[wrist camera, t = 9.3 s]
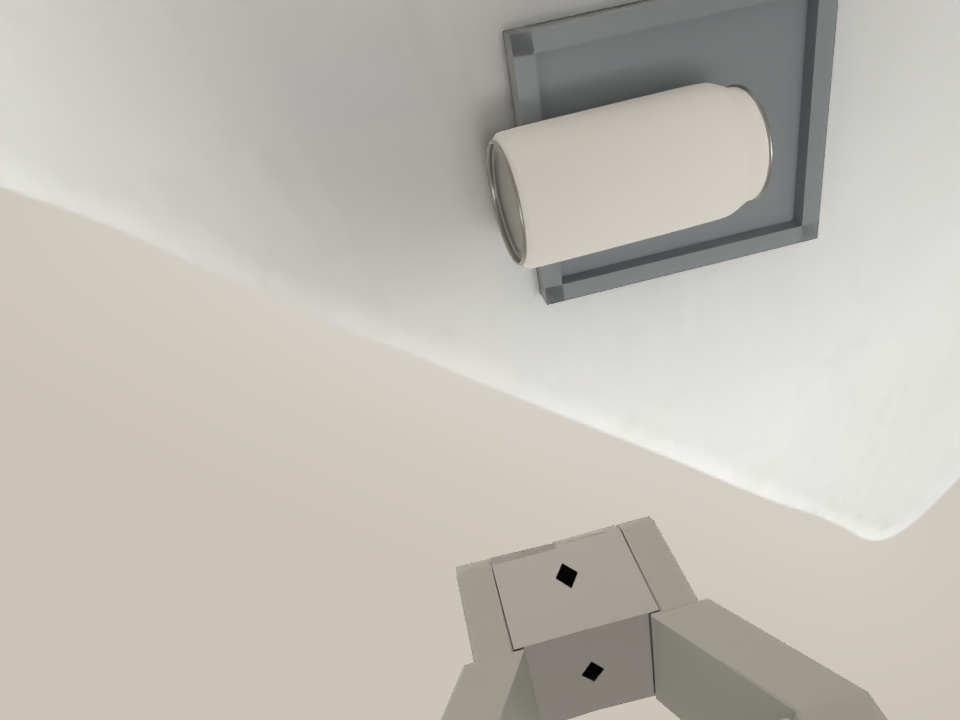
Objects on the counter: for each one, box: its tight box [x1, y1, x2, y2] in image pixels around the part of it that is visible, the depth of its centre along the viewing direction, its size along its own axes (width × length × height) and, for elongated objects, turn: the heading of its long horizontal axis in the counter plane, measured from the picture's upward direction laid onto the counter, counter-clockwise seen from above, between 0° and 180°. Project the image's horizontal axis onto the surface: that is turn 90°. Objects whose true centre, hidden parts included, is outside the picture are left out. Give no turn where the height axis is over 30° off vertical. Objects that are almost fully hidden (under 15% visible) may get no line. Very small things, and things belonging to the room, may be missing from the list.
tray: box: [503, 0, 838, 305], centre depth 37 cm, size 16×14×2 cm
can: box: [486, 83, 774, 269], centre depth 34 cm, size 6×6×12 cm
